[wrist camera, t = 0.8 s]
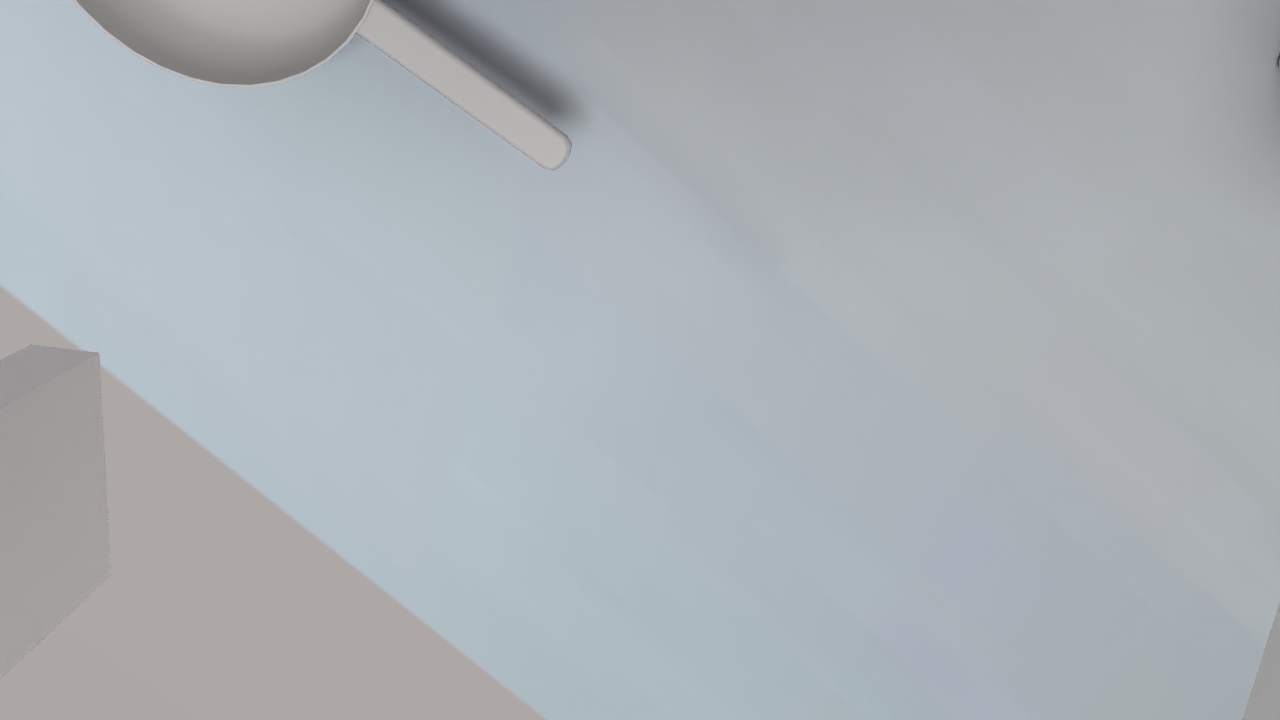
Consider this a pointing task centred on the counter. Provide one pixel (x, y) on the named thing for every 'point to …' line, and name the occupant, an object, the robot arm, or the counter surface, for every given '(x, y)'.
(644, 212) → the counter surface
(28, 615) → the robot arm
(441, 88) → the saucepan
